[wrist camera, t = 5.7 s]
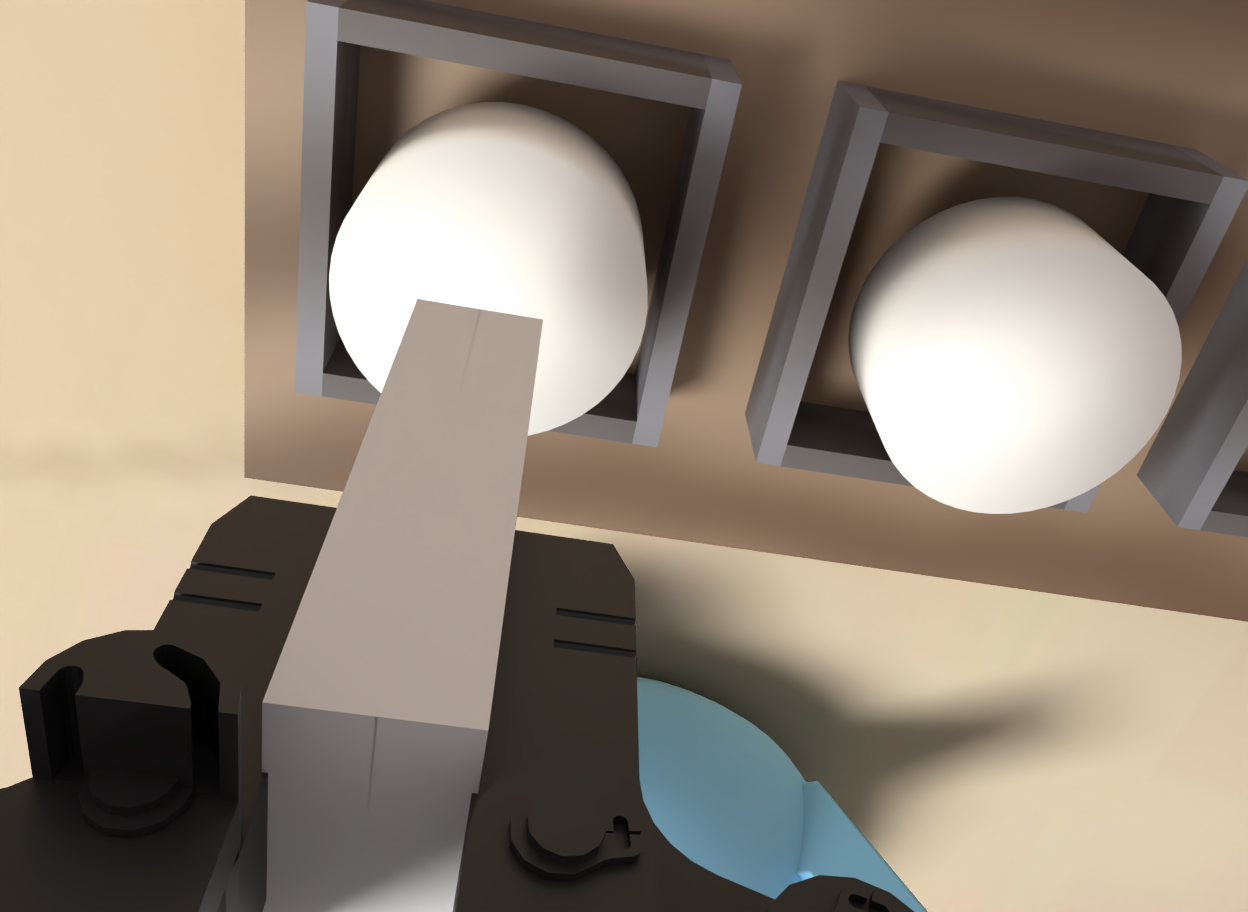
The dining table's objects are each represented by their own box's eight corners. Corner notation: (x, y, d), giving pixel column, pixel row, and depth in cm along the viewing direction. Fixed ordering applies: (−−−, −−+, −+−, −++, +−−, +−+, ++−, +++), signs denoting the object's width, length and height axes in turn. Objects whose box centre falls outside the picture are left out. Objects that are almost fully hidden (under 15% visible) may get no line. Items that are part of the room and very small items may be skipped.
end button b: (615, 390, 21) (617, 458, 18) (353, 349, 20) (322, 414, 18) (668, 130, 18) (677, 175, 16) (369, 76, 17) (336, 113, 15)
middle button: (1056, 459, 22) (1106, 532, 19) (816, 422, 21) (840, 492, 19) (1165, 223, 19) (1236, 276, 17) (896, 173, 18) (933, 221, 16)
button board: (1326, 569, 29) (1450, 700, 25) (280, 411, 26) (216, 529, 22) (1677, 32, 22) (1936, 88, 18) (294, -268, 19) (203, -289, 15)
